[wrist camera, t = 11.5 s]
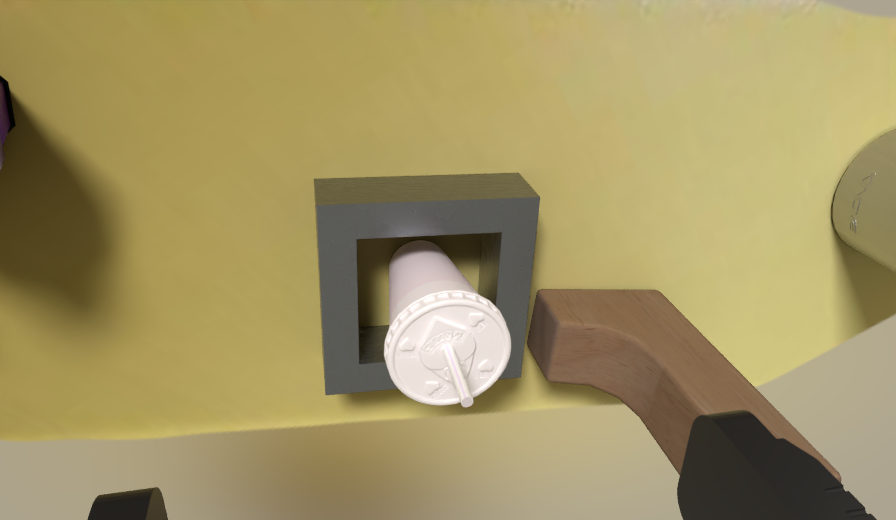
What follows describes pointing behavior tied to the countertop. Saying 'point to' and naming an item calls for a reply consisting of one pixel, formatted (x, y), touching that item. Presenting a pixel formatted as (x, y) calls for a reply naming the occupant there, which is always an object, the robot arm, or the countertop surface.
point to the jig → (406, 215)
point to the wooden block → (646, 363)
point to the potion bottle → (5, 116)
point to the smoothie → (441, 330)
